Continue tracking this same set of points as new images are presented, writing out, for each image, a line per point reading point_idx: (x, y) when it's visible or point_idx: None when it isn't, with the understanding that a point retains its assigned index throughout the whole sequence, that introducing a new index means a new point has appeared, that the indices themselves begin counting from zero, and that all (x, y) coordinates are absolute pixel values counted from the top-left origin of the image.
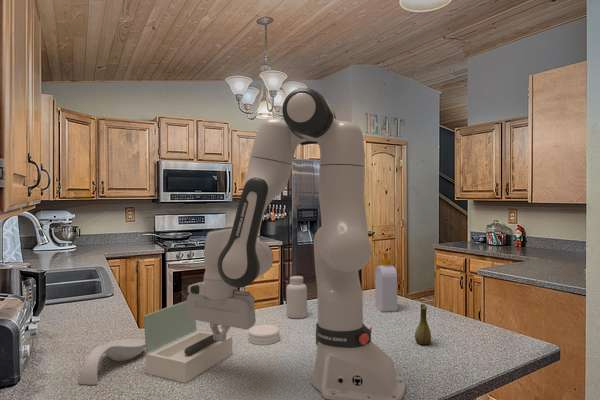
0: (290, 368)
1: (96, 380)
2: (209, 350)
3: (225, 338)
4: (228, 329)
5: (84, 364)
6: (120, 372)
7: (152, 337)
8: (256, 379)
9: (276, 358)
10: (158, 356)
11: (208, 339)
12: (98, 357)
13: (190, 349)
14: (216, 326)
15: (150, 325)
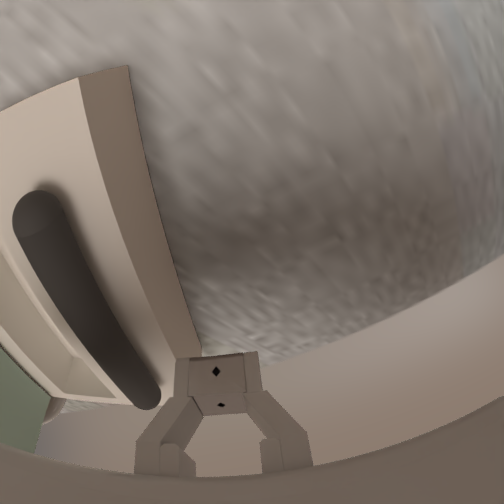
0: (493, 107)
1: (65, 401)
2: (158, 317)
3: (258, 362)
4: (293, 422)
5: None
6: None
7: (27, 422)
8: (411, 237)
9: (412, 14)
10: (89, 400)
11: (97, 327)
12: None
13: (157, 404)
14: (169, 439)
15: None
